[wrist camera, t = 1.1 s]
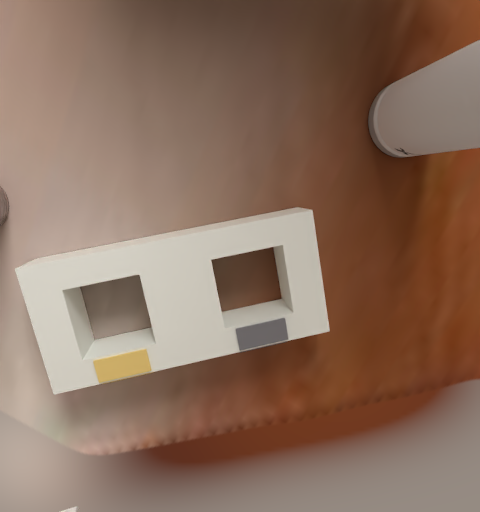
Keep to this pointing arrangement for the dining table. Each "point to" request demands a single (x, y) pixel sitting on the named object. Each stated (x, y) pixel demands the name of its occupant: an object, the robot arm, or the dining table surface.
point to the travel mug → (430, 108)
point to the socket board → (173, 299)
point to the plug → (3, 206)
